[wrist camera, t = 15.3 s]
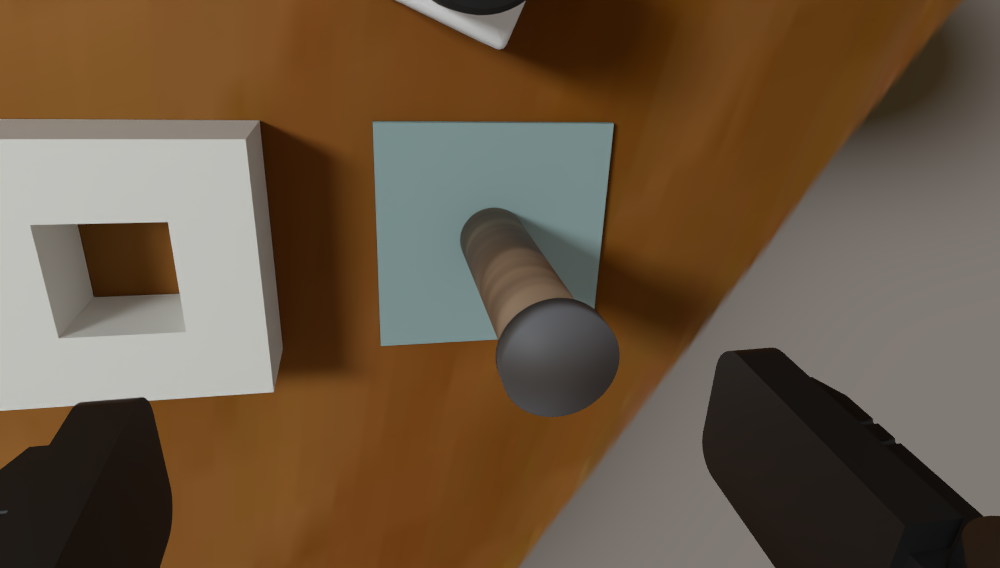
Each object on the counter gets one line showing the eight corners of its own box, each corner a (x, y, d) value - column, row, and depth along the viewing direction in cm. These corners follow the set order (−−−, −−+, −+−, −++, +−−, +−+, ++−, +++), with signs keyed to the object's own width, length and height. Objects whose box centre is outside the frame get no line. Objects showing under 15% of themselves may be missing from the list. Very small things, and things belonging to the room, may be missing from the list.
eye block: (-35, 118, 33) (-96, 139, 29) (259, 120, 36) (245, 139, 32) (32, 362, 39) (-10, 411, 35) (282, 348, 42) (273, 392, 37)
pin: (452, 200, 39) (503, 314, 26) (534, 198, 40) (626, 307, 27) (451, 278, 41) (499, 421, 28) (529, 274, 42) (612, 411, 29)
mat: (372, 121, 37) (372, 122, 37) (611, 122, 40) (613, 123, 40) (380, 342, 43) (380, 345, 42) (589, 331, 45) (591, 333, 45)
